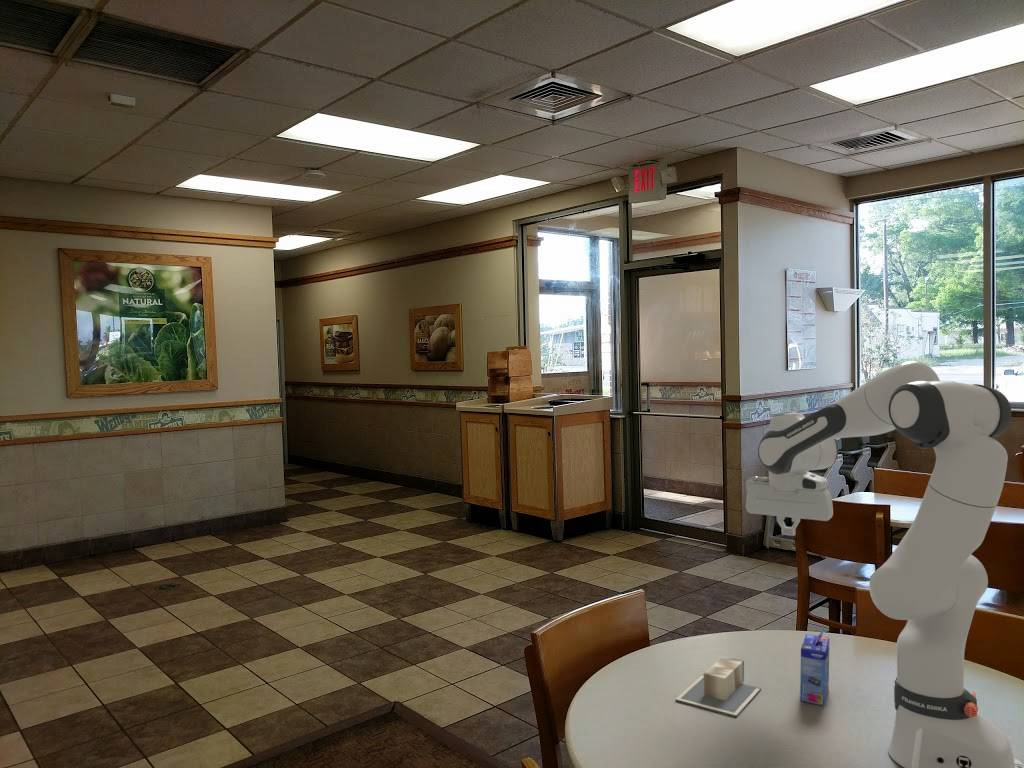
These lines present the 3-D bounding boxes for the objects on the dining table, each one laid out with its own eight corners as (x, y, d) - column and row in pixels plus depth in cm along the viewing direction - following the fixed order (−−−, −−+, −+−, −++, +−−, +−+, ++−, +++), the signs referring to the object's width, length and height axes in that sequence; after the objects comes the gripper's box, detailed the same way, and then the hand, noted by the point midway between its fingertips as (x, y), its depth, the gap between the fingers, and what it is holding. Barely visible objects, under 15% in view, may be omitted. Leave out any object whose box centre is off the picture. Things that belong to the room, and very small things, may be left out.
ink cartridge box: (826, 707, 164) (825, 641, 163) (799, 702, 166) (798, 637, 166) (830, 688, 172) (829, 626, 172) (805, 684, 175) (804, 623, 175)
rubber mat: (761, 690, 173) (761, 687, 173) (736, 717, 160) (736, 715, 160) (703, 675, 181) (703, 673, 181) (675, 701, 168) (675, 698, 168)
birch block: (743, 660, 176) (725, 678, 167) (744, 681, 177) (725, 700, 167) (723, 655, 179) (703, 673, 170) (723, 676, 180) (704, 695, 170)
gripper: (741, 477, 187) (742, 532, 187) (827, 483, 174) (828, 542, 175) (750, 473, 192) (750, 527, 192) (834, 479, 179) (835, 537, 180)
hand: (788, 534), depth 183 cm, fingers closed
